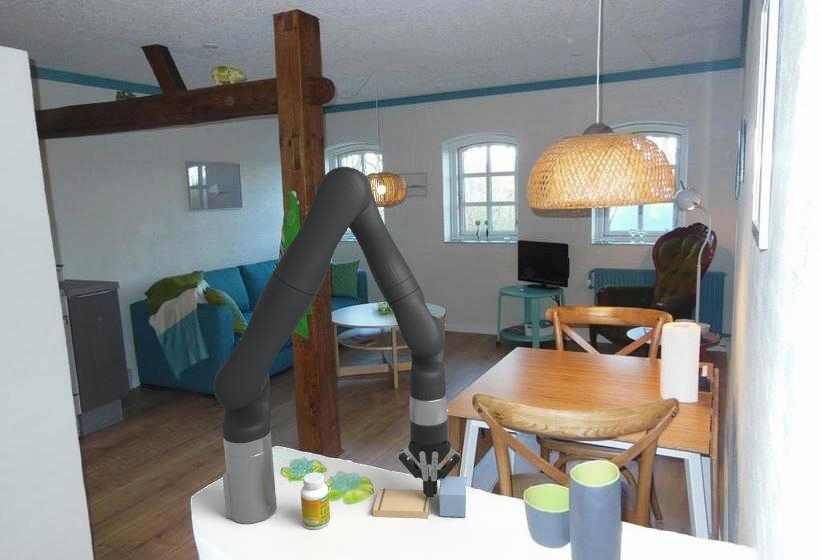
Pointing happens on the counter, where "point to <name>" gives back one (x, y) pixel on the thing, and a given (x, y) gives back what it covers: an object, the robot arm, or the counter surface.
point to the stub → (452, 496)
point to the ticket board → (401, 503)
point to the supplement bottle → (315, 501)
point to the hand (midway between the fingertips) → (430, 495)
